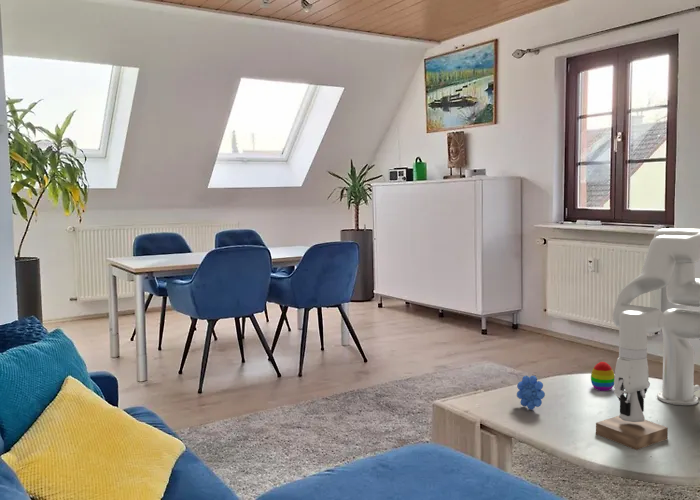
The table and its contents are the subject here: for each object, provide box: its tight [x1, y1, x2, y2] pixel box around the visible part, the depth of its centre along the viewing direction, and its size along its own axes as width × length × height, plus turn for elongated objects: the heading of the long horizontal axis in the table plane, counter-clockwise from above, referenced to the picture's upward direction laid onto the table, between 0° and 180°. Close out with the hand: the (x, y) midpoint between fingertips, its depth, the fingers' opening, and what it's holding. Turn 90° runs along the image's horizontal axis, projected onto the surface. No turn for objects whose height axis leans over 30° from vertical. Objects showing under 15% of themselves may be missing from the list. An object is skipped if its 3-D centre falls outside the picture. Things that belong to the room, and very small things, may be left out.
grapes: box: [516, 375, 546, 411], centre depth 218 cm, size 12×7×12 cm, turn 32°
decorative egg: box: [590, 361, 615, 392], centre depth 237 cm, size 8×8×10 cm
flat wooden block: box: [595, 415, 669, 451], centre depth 194 cm, size 14×14×4 cm
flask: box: [618, 391, 646, 422], centre depth 193 cm, size 7×7×10 cm
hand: (631, 412), depth 193 cm, fingers closed on flask, 5 cm apart
